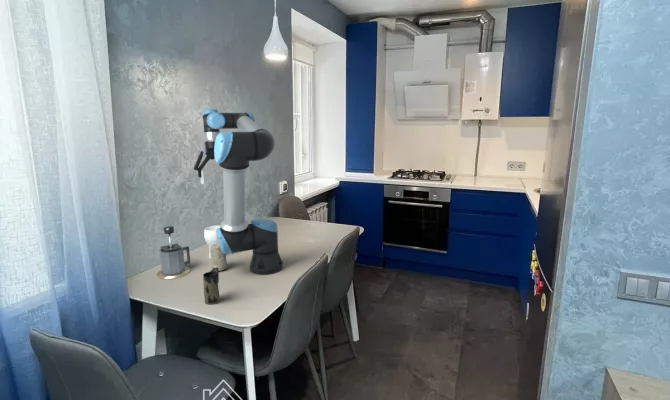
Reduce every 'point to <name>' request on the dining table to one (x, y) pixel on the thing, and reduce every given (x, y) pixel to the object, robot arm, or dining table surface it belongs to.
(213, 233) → the cup
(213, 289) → the mug
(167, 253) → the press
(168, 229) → the black knob on rod
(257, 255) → the robot arm
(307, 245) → the dining table surface
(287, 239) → the dining table surface
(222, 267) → the carving
